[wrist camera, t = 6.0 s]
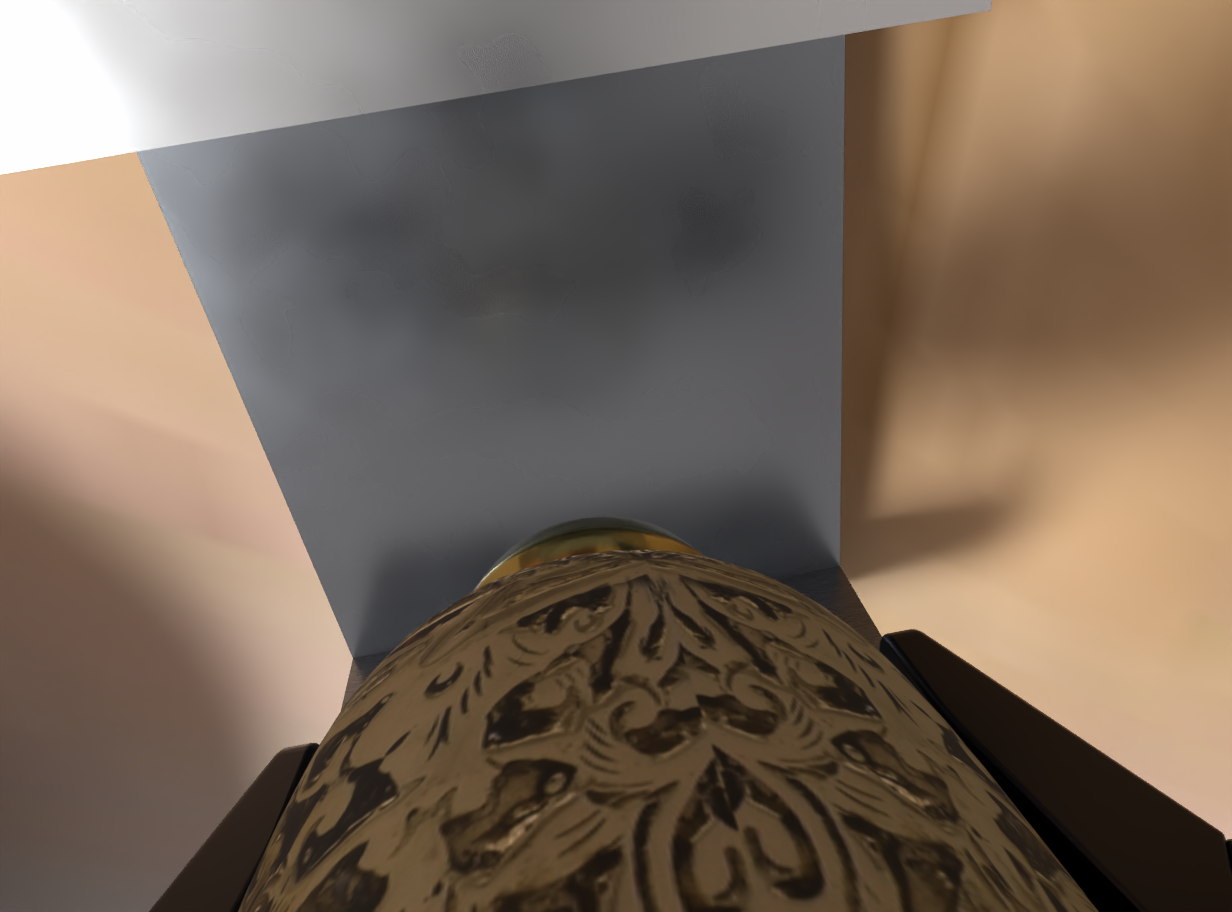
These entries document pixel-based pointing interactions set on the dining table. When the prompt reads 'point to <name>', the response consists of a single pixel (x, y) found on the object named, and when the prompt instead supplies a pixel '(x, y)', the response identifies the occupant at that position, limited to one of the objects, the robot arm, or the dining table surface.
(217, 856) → the robot arm
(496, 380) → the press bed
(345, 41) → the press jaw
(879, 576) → the dining table surface
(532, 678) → the ornate bronze lampshade
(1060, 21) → the dining table surface
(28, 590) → the dining table surface
